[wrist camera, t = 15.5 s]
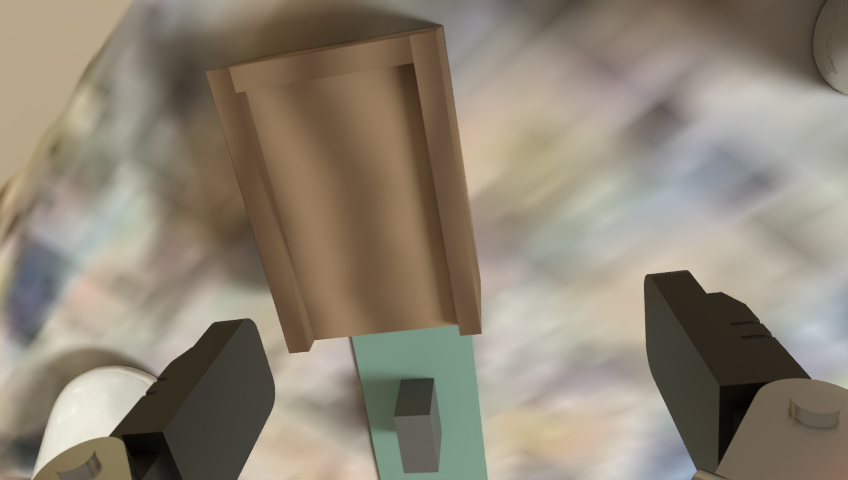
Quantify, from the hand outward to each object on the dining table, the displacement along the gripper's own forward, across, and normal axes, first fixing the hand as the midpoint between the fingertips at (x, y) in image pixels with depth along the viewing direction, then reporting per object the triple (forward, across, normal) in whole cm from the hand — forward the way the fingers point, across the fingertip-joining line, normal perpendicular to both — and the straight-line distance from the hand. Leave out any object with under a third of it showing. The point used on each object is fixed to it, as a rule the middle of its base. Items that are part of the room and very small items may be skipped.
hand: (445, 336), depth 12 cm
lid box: (+33, +8, +5) cm, 34 cm away
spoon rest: (+34, +40, +28) cm, 59 cm away
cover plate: (+34, +8, +27) cm, 44 cm away
